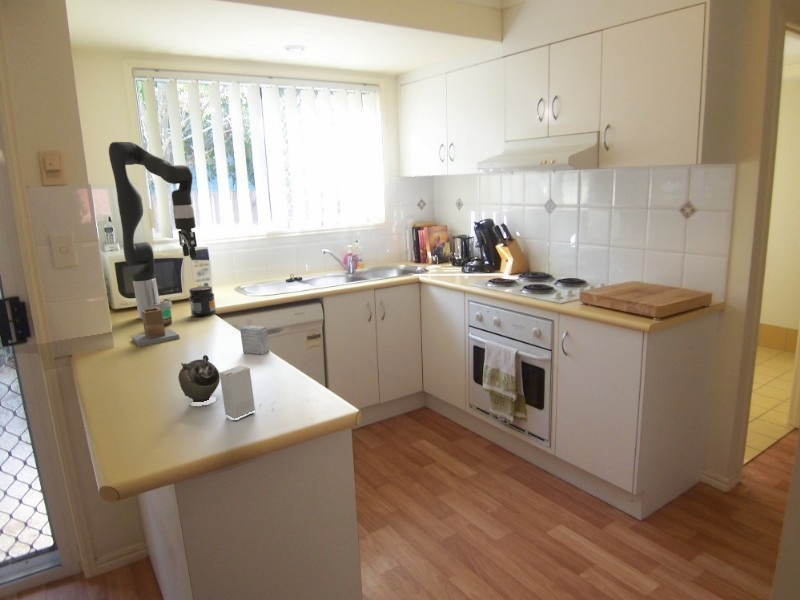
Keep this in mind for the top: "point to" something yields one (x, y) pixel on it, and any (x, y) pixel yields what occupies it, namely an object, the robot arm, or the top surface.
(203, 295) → the supplement container
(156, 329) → the walnut sleeve
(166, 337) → the post base
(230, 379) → the skincare box
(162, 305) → the food container
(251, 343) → the medicine box
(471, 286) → the top surface
